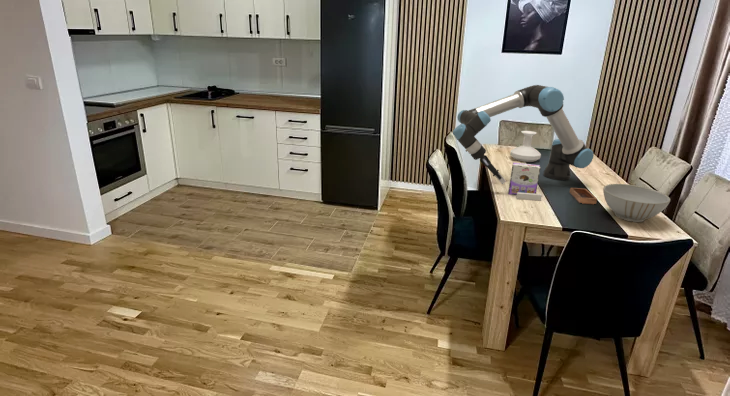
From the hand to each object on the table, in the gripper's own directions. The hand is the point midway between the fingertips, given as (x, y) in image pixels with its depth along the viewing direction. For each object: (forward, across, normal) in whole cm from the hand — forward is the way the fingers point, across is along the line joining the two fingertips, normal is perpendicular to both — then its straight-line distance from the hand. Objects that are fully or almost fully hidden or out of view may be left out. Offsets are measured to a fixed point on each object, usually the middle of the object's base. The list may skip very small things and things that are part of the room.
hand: (504, 182), depth 225 cm
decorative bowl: (+43, +22, +34) cm, 60 cm away
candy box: (+12, 0, +3) cm, 12 cm away
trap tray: (+33, 0, +25) cm, 41 cm away
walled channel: (+13, 0, +4) cm, 13 cm away
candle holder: (+24, -74, +15) cm, 80 cm away
